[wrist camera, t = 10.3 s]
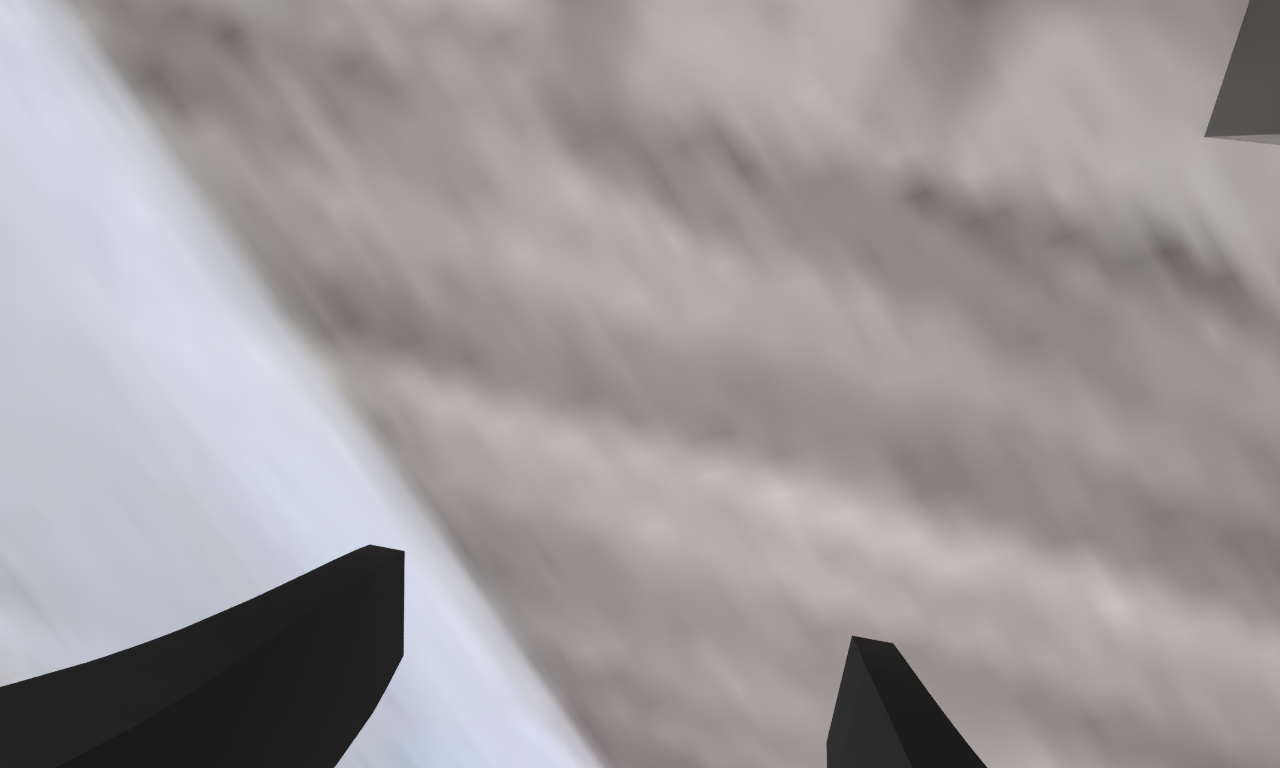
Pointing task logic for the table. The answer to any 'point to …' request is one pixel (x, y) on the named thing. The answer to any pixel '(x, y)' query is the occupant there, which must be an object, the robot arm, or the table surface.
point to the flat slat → (1252, 80)
